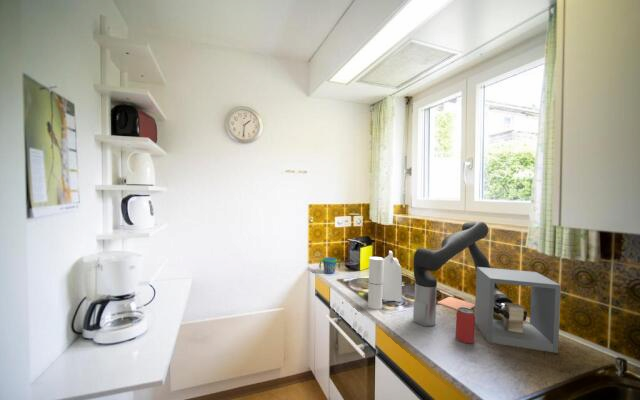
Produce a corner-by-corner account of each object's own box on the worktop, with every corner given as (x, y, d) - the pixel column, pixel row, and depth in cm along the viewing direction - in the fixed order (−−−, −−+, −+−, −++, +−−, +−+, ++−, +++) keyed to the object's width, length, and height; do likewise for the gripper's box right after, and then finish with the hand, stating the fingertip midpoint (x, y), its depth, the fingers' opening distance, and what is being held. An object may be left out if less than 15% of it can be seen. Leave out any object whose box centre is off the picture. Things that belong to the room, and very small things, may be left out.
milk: (378, 292, 155) (379, 249, 154) (398, 294, 153) (399, 250, 153) (379, 301, 143) (381, 253, 143) (401, 302, 142) (403, 254, 141)
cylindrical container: (365, 306, 136) (366, 258, 135) (372, 302, 141) (374, 255, 141) (377, 310, 131) (379, 260, 130) (384, 306, 136) (386, 258, 136)
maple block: (522, 333, 106) (523, 308, 106) (508, 331, 108) (509, 306, 107) (517, 327, 111) (518, 303, 111) (503, 325, 112) (504, 302, 112)
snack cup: (337, 270, 200) (338, 256, 199) (341, 274, 189) (342, 260, 189) (317, 271, 196) (318, 257, 196) (320, 275, 186) (321, 261, 186)
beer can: (472, 337, 108) (473, 308, 108) (475, 345, 102) (477, 315, 102) (454, 334, 110) (455, 305, 110) (456, 342, 104) (458, 312, 104)
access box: (557, 352, 99) (560, 285, 98) (487, 342, 105) (490, 278, 104) (533, 330, 115) (536, 272, 115) (474, 321, 122) (476, 266, 121)
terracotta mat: (464, 312, 131) (464, 311, 131) (437, 303, 142) (437, 302, 142) (476, 306, 140) (476, 304, 140) (449, 297, 151) (449, 296, 151)
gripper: (483, 291, 125) (496, 305, 108) (518, 295, 121) (537, 311, 105) (482, 307, 125) (495, 323, 109) (517, 311, 121) (536, 329, 105)
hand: (516, 317), depth 107 cm, fingers closed on maple block, 5 cm apart
